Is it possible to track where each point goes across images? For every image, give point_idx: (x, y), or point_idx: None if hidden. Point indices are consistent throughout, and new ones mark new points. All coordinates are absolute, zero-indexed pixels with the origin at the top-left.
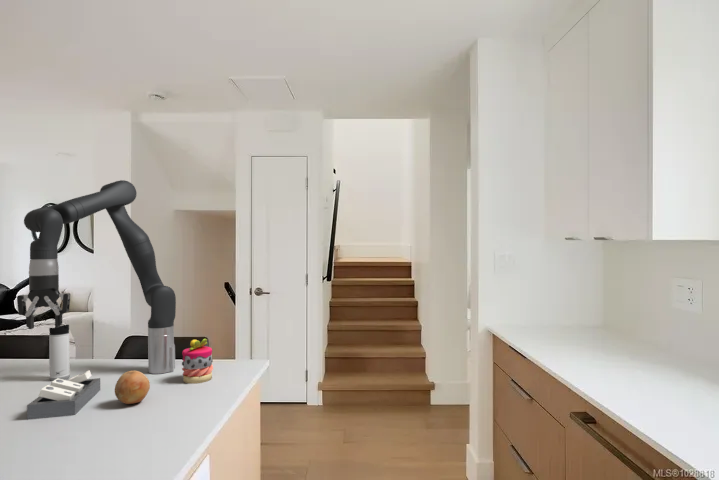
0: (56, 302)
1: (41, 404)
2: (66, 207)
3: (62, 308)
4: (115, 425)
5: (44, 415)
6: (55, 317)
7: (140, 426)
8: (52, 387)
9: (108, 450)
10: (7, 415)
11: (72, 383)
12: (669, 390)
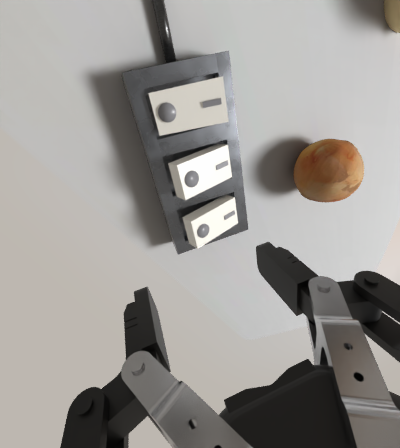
0: (369, 367)
1: None
2: None
3: (370, 335)
4: (301, 247)
5: None
6: (292, 307)
7: (327, 247)
8: (205, 224)
9: None
10: (117, 227)
11: (211, 162)
12: None
